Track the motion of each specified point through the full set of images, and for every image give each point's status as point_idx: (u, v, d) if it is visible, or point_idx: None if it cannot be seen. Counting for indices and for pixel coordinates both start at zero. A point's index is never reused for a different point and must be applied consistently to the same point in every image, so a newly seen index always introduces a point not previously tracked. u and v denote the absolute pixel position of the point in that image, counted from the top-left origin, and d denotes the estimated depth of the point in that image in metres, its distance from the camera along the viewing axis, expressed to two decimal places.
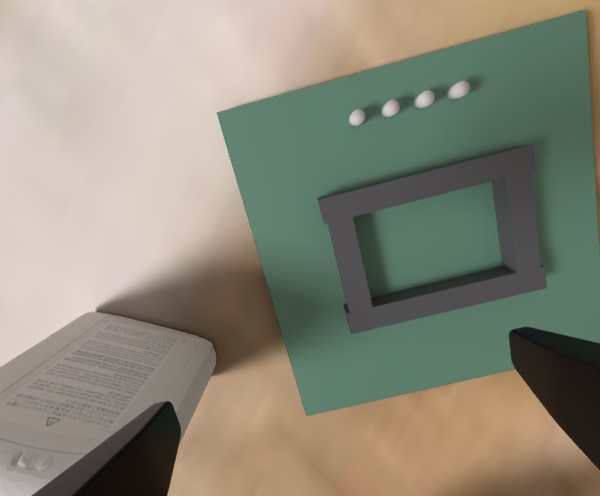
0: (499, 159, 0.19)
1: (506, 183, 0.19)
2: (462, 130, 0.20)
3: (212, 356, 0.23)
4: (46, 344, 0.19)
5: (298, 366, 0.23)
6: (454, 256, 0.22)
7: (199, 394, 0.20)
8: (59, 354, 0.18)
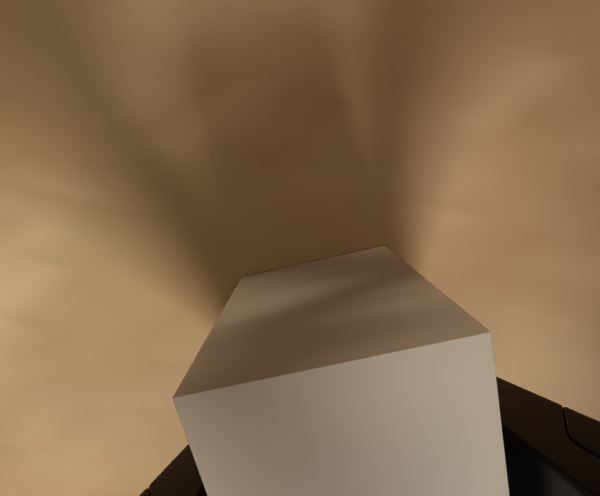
0: None
1: None
2: None
3: None
4: None
5: None
6: None
7: None
8: None
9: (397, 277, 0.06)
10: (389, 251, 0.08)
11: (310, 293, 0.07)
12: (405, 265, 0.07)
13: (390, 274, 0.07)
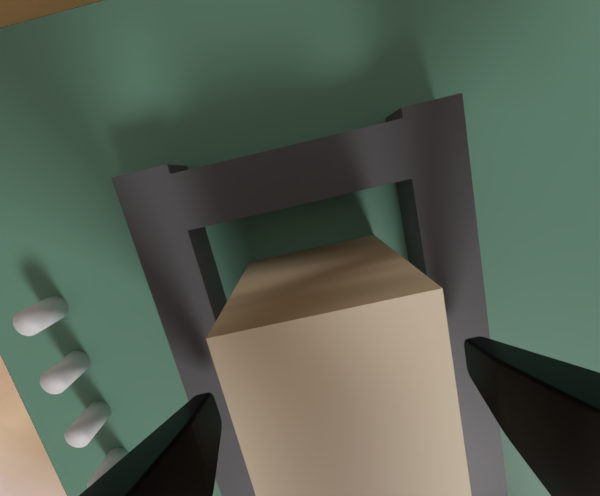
0: (149, 248, 0.09)
1: (199, 227, 0.09)
2: (118, 285, 0.11)
3: None
4: None
5: None
6: None
7: None
8: None
9: (381, 257, 0.08)
10: (377, 238, 0.09)
11: (309, 271, 0.08)
12: (388, 248, 0.08)
13: (376, 254, 0.08)
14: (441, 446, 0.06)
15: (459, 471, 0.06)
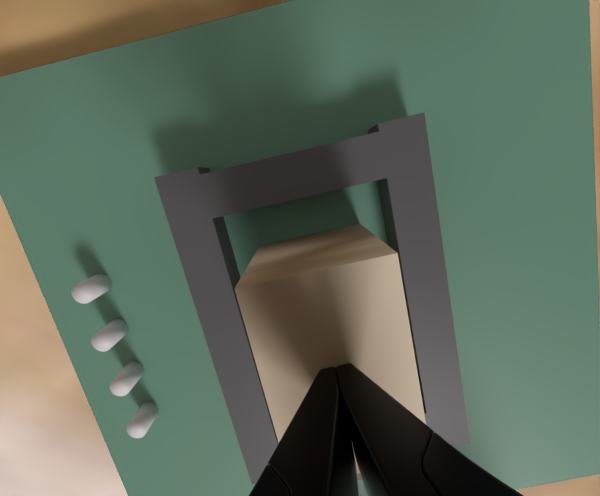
0: (182, 232, 0.11)
1: (221, 216, 0.11)
2: (152, 264, 0.13)
3: None
4: None
5: (513, 481, 0.15)
6: None
7: None
8: None
9: (361, 237, 0.10)
10: (361, 226, 0.12)
11: (307, 248, 0.10)
12: (368, 232, 0.11)
13: (358, 236, 0.10)
14: (400, 368, 0.08)
15: (413, 387, 0.09)
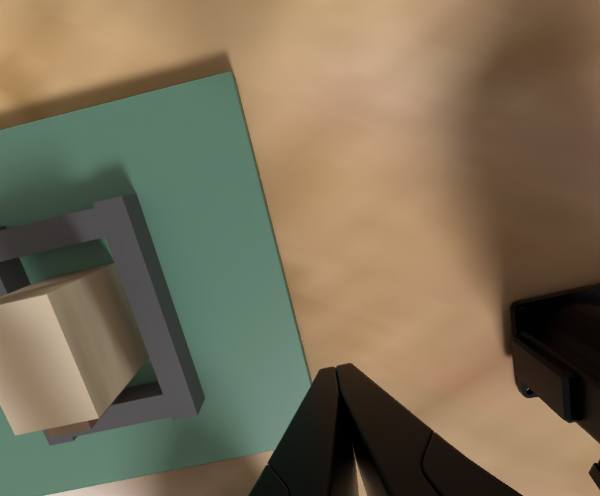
0: None
1: None
2: None
3: None
4: None
5: (259, 446, 0.21)
6: None
7: None
8: None
9: (76, 278, 0.16)
10: (106, 266, 0.17)
11: (46, 284, 0.16)
12: (91, 273, 0.16)
13: (79, 276, 0.16)
14: (64, 361, 0.14)
15: (76, 373, 0.14)
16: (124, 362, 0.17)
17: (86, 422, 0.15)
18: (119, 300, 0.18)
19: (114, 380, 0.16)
